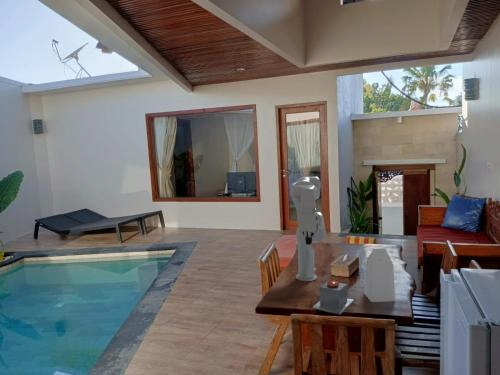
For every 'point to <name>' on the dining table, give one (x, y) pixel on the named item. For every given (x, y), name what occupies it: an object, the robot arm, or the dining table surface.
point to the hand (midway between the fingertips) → (308, 244)
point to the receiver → (333, 299)
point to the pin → (332, 284)
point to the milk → (379, 276)
